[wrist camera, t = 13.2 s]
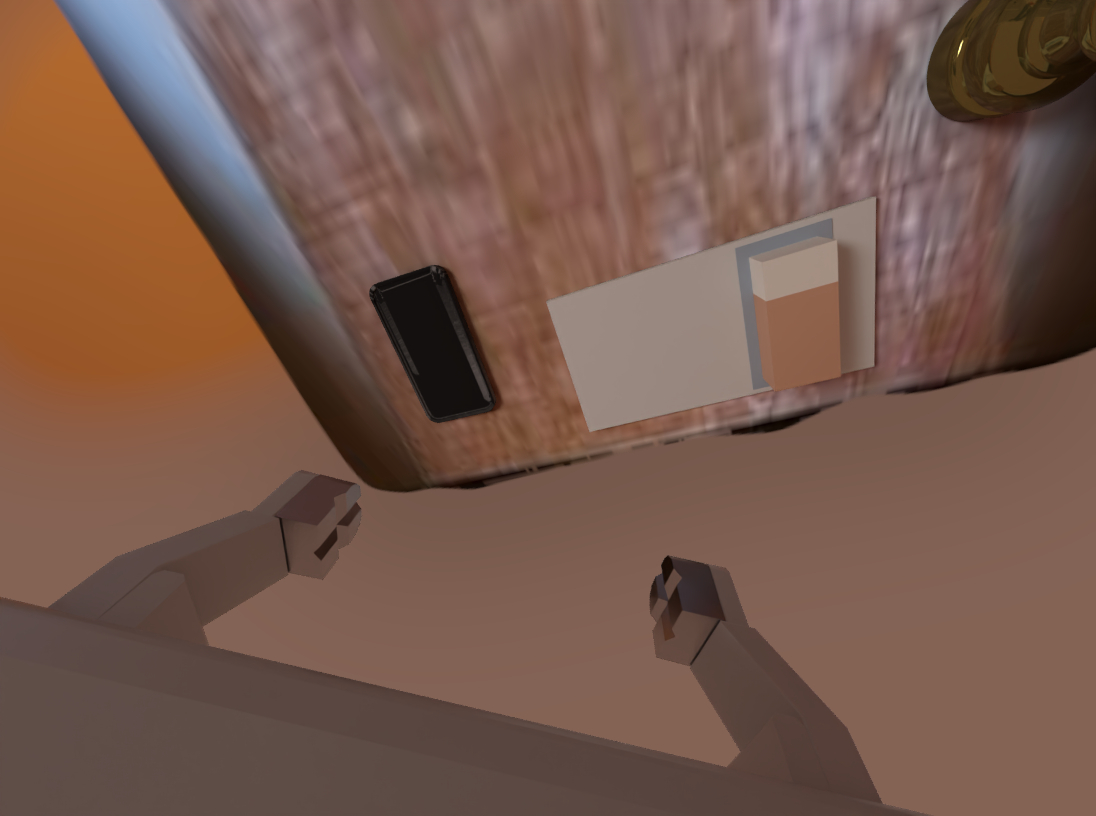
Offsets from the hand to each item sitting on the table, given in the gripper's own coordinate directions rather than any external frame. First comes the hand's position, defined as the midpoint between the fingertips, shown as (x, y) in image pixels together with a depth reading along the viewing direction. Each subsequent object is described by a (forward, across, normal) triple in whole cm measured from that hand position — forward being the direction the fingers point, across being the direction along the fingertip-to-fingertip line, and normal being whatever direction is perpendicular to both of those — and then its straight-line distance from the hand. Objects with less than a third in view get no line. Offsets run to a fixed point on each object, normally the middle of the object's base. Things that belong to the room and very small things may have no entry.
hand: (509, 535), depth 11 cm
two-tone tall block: (+28, -18, -3) cm, 34 cm away
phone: (+30, +12, +8) cm, 33 cm away
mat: (+29, -12, 0) cm, 32 cm away
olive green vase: (+29, -23, -21) cm, 43 cm away
